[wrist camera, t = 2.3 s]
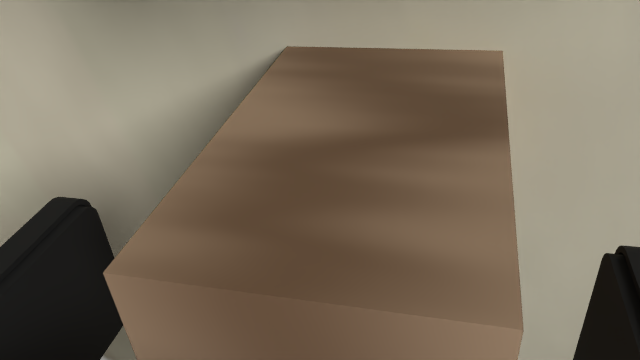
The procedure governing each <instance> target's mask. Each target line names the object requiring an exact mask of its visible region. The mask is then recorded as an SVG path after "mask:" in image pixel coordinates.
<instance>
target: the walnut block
mask: <svg viewBox="0 0 640 360" xmlns="http://www.w3.org/2000/svg"><path fill="white" fill-rule="evenodd" d="M103 275H104V277H105V280H106V282H107V285H108V287H109V290H110V292H111V295H112V297H113V300H114V302H115V305H116V307H117V310H118V313H119V315H120V318H121V320H122V323H123V325H124V328H125V330H126V333H127V335H128V338H129V340H130V343H131V345H132V348H133V350H134V353H135V356H136V358H137V360H517V359H518V354H519V349H520V345H521V340H522V335H523V317H522V304H521V291H520V277H519V264H518V251H517V237H516V224H515V210H514V197H513V184H512V170H511V157H510V144H509V130H508V117H507V104H506V90H505V77H504V64H503V51H484V50H434V49H385V48H335V47H286V48H285V49H284V51H283V52H282V53H281V54H280V56H279V57H278V58H277V59H276V61H275V62H274V63H273V64H272V65H271V67H270V68H269V69H268V70H267V72H266V73H265V74H264V75H263V77H262V78H261V79H260V80H259V81H258V83H257V84H256V85H255V86H254V88H253V89H252V90H251V91H250V93H249V94H248V95H247V96H246V97H245V99H244V100H243V101H242V102H241V104H240V105H239V106H238V107H237V109H236V110H235V111H234V112H233V113H232V115H231V116H230V117H229V118H228V120H227V121H226V122H225V123H224V124H223V126H222V127H221V128H220V129H219V131H218V132H217V133H216V134H215V136H214V137H213V138H212V139H211V140H210V142H209V143H208V144H207V145H206V147H205V148H204V149H203V150H202V152H201V153H200V154H199V155H198V156H197V158H196V159H195V160H194V161H193V163H192V164H191V165H190V166H189V168H188V169H187V170H186V171H185V172H184V174H183V175H182V176H181V177H180V179H179V180H178V181H177V182H176V184H175V185H174V186H173V187H172V188H171V190H170V191H169V192H168V193H167V195H166V196H165V197H164V198H163V199H162V201H161V202H160V203H159V204H158V206H157V207H156V208H155V209H154V211H153V212H152V213H151V214H150V215H149V217H148V218H147V219H146V220H145V222H144V223H143V224H142V225H141V227H140V228H139V229H138V230H137V231H136V233H135V234H134V235H133V236H132V238H131V239H130V240H129V241H128V243H127V244H126V245H125V246H124V247H123V249H122V250H121V251H120V252H119V254H118V255H117V256H116V257H115V259H114V260H113V261H112V262H111V263H110V265H109V266H108V267H107V268H106V270H105V271H104V272H103Z"/></svg>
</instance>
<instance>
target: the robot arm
mask: <svg viewBox="0 0 640 360" xmlns="http://www.w3.org/2000/svg"><path fill="white" fill-rule="evenodd" d="M114 259H115V258H114V256H113V253H112V250H111V247H110V245H109V242H108V239H107V237H106V234H105V231H104V228H103V226H102V223H101V220H100V217H99V215H98V212H97V211H96V209H95V208H93V207H92V206H91V205H90V203H89V202H88V201H87V200H84V199H77V198H66V197H57V198H54V199H52V200H51V201H49V202H48V203H47V204H46V205H45V206H44V207H43V208H42V209H41V210H40V211H39V212H38V213H37V214H35V215H34V216H33V217H32V218H31V219H30V220H29V221H28V222H27V223H26V224H25V225H24V226H23V227H22V228H20V229H19V230H18V231H17V232H16V233H15V234H14V235H13V236H12V237H11V238H10V239H9V240H8V241H6V242H5V243H4V244H3V245H2V246H1V247H0V360H100V359H101V357H102V356H103V354H104V353H105V352H106V350H107V349H108V347H109V346H110V344H111V343H112V341H113V340H114V338H115V337H116V335H117V334H118V332H119V331H120V329H121V328H122V326H123V323H122V320H121V318H120V315H119V313H118V310H117V307H116V305H115V302H114V300H113V297H112V295H111V292H110V290H109V287H108V285H107V282H106V280H105V277H104V275H103V272H104V271H105V270H106V268H107V267H108V266H109V265H110V263H111V262H112V261H113V260H114ZM573 360H640V247H632V246H619V247H618V248H617V250H616V252H615V254H609V253H606V254H604V256H603V258H602V261H601V264H600V268H599V271H598V275H597V278H596V282H595V285H594V289H593V292H592V296H591V299H590V303H589V306H588V310H587V313H586V317H585V320H584V323H583V327H582V330H581V334H580V337H579V341H578V344H577V348H576V351H575V355H574V358H573Z"/></svg>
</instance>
